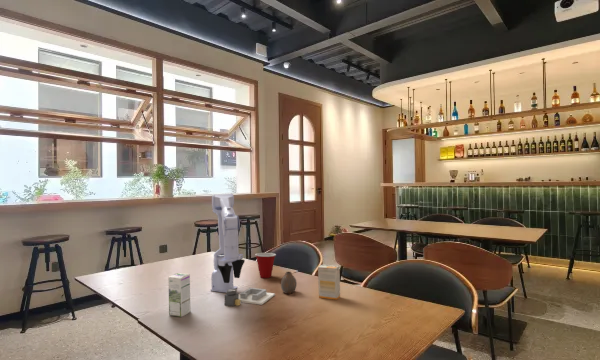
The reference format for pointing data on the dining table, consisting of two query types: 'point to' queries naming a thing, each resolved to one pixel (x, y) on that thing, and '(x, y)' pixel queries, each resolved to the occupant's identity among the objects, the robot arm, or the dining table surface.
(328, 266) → the supplement box
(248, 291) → the hub panel
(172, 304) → the syrup box
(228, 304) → the knob
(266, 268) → the plastic cup
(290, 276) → the vase
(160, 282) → the dining table surface
